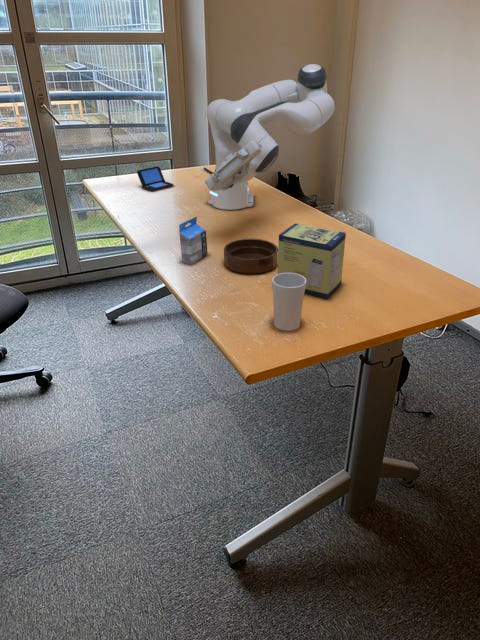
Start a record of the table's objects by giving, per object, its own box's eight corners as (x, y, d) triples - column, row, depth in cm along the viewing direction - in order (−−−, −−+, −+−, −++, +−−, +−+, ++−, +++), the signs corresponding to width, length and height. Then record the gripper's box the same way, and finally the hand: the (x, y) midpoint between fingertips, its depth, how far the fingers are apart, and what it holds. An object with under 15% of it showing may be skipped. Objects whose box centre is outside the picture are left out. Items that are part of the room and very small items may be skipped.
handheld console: (151, 192, 220) (150, 175, 216) (137, 187, 227) (135, 170, 223) (174, 186, 228) (173, 169, 224) (160, 181, 234) (158, 165, 231)
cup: (268, 316, 127) (270, 273, 121) (299, 314, 128) (302, 272, 122) (273, 333, 120) (274, 288, 114) (306, 331, 121) (309, 286, 115)
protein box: (291, 272, 149) (294, 222, 141) (341, 284, 142) (347, 232, 134) (275, 286, 141) (277, 234, 133) (327, 299, 135) (333, 245, 127)
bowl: (231, 251, 163) (231, 236, 161) (281, 255, 160) (282, 240, 157) (218, 272, 149) (217, 257, 147) (272, 277, 146) (273, 262, 144)
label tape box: (191, 265, 154) (189, 226, 148) (181, 262, 156) (178, 224, 150) (208, 255, 160) (206, 218, 154) (197, 252, 162) (195, 215, 156)
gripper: (268, 153, 161) (259, 150, 148) (220, 194, 168) (208, 194, 155) (256, 137, 161) (247, 133, 148) (209, 178, 168) (195, 177, 155)
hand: (226, 164), depth 152 cm, fingers open, 8 cm apart
